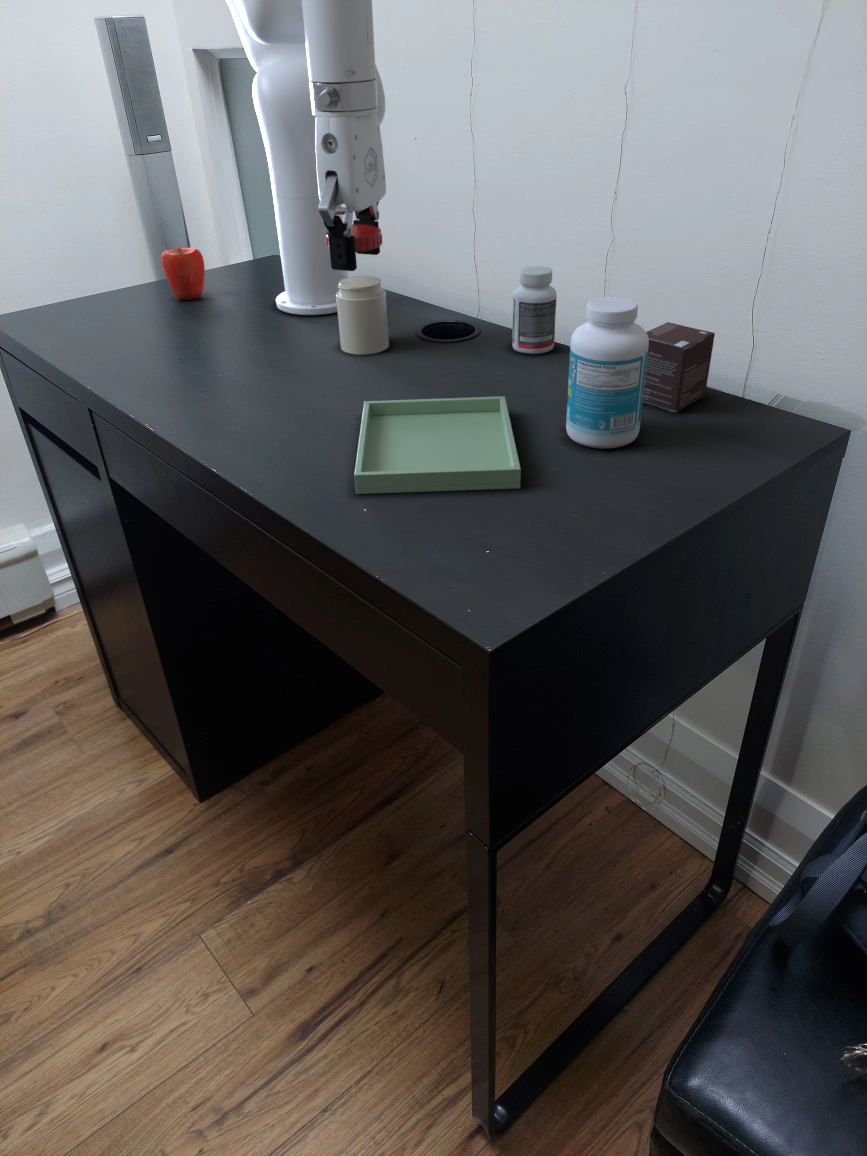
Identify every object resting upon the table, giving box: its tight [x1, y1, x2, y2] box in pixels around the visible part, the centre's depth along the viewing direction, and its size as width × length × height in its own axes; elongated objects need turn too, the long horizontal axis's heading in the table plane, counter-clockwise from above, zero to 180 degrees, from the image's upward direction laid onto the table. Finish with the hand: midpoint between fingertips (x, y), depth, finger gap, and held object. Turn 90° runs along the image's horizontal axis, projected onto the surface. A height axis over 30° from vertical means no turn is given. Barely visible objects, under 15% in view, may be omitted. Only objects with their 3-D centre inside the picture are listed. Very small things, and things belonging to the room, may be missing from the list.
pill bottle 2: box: [565, 296, 649, 450], centre depth 83 cm, size 8×7×14 cm
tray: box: [353, 395, 522, 495], centre depth 84 cm, size 17×15×2 cm
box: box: [642, 321, 716, 413], centre depth 92 cm, size 6×6×7 cm
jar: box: [336, 275, 390, 356], centre depth 109 cm, size 6×6×8 cm
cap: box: [326, 223, 383, 252], centre depth 104 cm, size 7×7×2 cm
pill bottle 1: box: [511, 265, 558, 355], centre depth 106 cm, size 5×5×10 cm
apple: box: [160, 247, 206, 301], centre depth 131 cm, size 6×6×8 cm
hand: (356, 260), depth 106 cm, fingers closed on cap, 6 cm apart
